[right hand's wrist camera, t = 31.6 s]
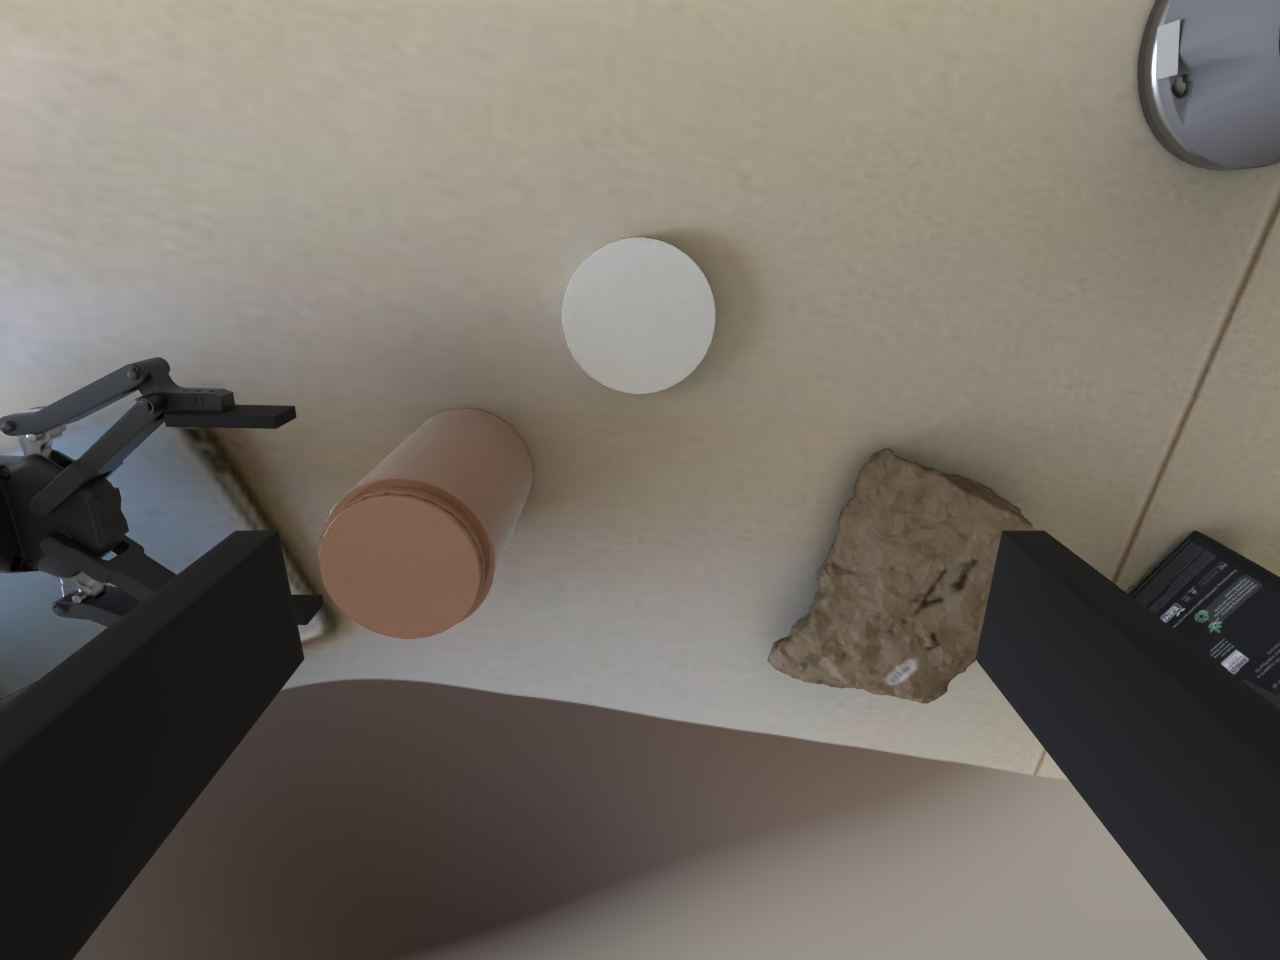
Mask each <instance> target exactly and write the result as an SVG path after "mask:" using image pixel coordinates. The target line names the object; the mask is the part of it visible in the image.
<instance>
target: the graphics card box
mask: <svg viewBox="0 0 1280 960" xmlns="http://www.w3.org/2000/svg"><path fill="white" fill-rule="evenodd" d="M1129 595H1130V596H1131V597H1132V598H1134V599H1135V600H1136V601H1138V602H1139V603H1140V604H1142V605H1143V606H1144V607H1145V608H1147V609H1148V610H1149V611H1151V612H1152V613H1153V614H1155V615H1156V616H1157V617H1159V618H1160V619H1161V620H1163V621H1164V622H1165V623H1167V624H1168V625H1169V626H1171V627H1172V628H1173V629H1174V630H1176V631H1177V632H1178V633H1180V634H1181V635H1182V636H1184V637H1185V638H1186V639H1188V640H1189V641H1190V642H1192V643H1193V644H1194V645H1196V646H1197V647H1198V648H1199V649H1201V650H1202V651H1203V652H1205V653H1206V654H1207V655H1209V656H1210V657H1211V658H1213V659H1214V660H1215V661H1217V662H1218V663H1219V664H1221V665H1222V666H1223V667H1224V668H1226V669H1227V670H1228V671H1230V672H1231V673H1232V674H1234V675H1235V676H1236V677H1238V678H1239V679H1246V680H1248V681H1250V682H1252V683H1254V684H1255V685H1257V686H1259V687H1261V688H1263V689H1265V690H1267V691H1269V692H1271V693H1273V694H1275V695H1277V696H1279V697H1280V577H1278V576H1277V575H1275V574H1273V573H1271V572H1270V571H1268V570H1266V569H1264V568H1263V567H1261V566H1260V565H1258V564H1256V563H1254V562H1252V561H1251V560H1249V559H1247V558H1245V557H1244V556H1242V555H1240V554H1238V553H1236V552H1235V551H1233V550H1231V549H1229V548H1227V547H1225V546H1224V545H1222V544H1220V543H1219V542H1217V541H1215V540H1213V539H1212V538H1209V537H1208V536H1206V535H1204V534H1202V533H1200V532H1198V531H1193V532H1192V533H1191V534H1190V535H1189V536H1188V537H1187V538H1186V539H1185V540H1184V541H1183V542H1182V543H1181V544H1180V545H1179V546H1178V547H1177V548H1176V549H1175V550H1174V551H1173V552H1172V553H1171V554H1170V555H1168V556H1167V558H1166V559H1165V560H1164V561H1163V562H1162V563H1161V564H1160V565H1159V566H1157V568H1156V569H1154V570H1153V571H1152V572H1151V573H1150V574H1149V575H1148V576H1147V577H1146V578H1145V579H1144V580H1143V581H1142V582H1141V583H1140V584H1139V585H1138V586H1137V587H1136V588H1135V589H1134V590H1133V591H1132V592H1131V593H1130V594H1129Z"/></svg>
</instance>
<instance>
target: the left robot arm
mask: <svg viewBox="0 0 1280 960" xmlns="http://www.w3.org/2000/svg"><path fill="white" fill-rule="evenodd" d="M169 371H170V366H169V364H168V362H167V361H166V360H164V359H163V358H159V357H156V358H152V359H147V360H144V361H140V362H136V363H133V364H129V365H126V366H124V367H122V368H120V369H118V370H116V371H115V372H113V373H111V374H109V375H107V376H105V377H103V378H101V379H99V380H97V381H95V382H93V383H91V384H89V385H88V386H86V387H84V388H82V389H80V390H78V391H76V392H74V393H72V394H70V395H68V396H66V397H64V398H63V399H61V400H59V401H57V402H55V403H53V404H51V405H49V406H43V407H36V408H32V409H29V410H25V411H22V412H18V413H15V414H12V415H8V416H5V417H2V418H0V430H1V431H2V432H3V433H5V434H7V435H10V436H16V435H17V437H18V440H19V442H20V444H21V447H22V449H23V452H24V454H25V456H0V573H20V572H30V571H43V572H47V573H49V574H52V575H54V576H56V577H59V579H60V585H61V592H62V598H60V599H59V600H57V601H56V602H54V603H53V605H52V609H53V611H54V613H55V614H57V615H58V616H61V617H68V618H78V619H88V620H92V621H94V622H97V623H99V624H102V625H105V626H107V627H109V626H111V625H112V624H113V623H115V622H116V621H117V620H119V619H120V618H121V617H123V616H124V615H125V614H127V613H128V612H129V611H131V610H132V609H133V608H135V607H136V606H137V605H138V604H140V603H141V602H142V601H144V600H145V599H146V598H148V597H149V596H150V595H152V594H153V593H154V592H156V591H157V590H158V589H160V588H161V587H162V586H163V585H165V584H166V583H167V582H169V581H170V580H171V579H173V578H174V577H175V576H177V575H176V574H174V573H173V572H171V571H170V570H168V569H167V568H165V567H164V566H162V565H160V564H159V563H157V562H156V561H154V560H153V559H151V558H150V557H148V556H146V555H145V554H144V549H143V547H142V546H141V545H139V544H138V543H136V542H134V541H133V540H131V539H130V538H128V537H127V536H125V533H127V532H128V531H129V529H128V525H127V521H126V519H125V517H124V515H123V513H122V512H121V496H120V492H119V488H114V487H113V486H112V484H111V483H110V482H109V481H108V480H107V479H106V478H108V477H109V476H110V475H111V474H112V473H113V472H114V471H115V470H116V469H117V468H118V467H119V466H120V465H121V464H122V463H123V460H124V459H125V458H126V457H127V456H128V455H129V454H130V453H131V452H132V451H133V450H135V449H136V448H137V447H138V446H139V445H140V444H141V443H142V442H143V441H144V440H145V439H146V438H147V437H148V436H149V435H150V434H151V433H153V432H154V431H155V430H156V429H157V428H158V427H159V426H160V425H161V424H162V423H163V422H164V421H165V424H166V427H219V428H271V429H277V428H278V427H280V426H282V425H284V424H286V423H287V422H289V421H291V420H293V419H295V418H296V411H295V406H268V405H235V402H234V396H233V392H231V391H228V390H226V389H206V388H182V387H179V386H178V385H176V384H175V383H174V382H173V381H172V379H171V377H170V376H169V374H168V373H169ZM137 390H139V391H140V393H141V394H142V396H141V397H138V398H137V399H135V400H136V401H138V400H139V401H138V402H137V403H136V404H135V405H134V406H133V407H132V408H131V409H130V410H129V411H128V412H127V413H126V414H125V415H124V416H123V417H122V418H121V419H120V420H118V421H117V422H116V423H115V424H114V425H113V426H112V427H111V428H110V429H109V430H108V431H107V432H106V433H105V434H104V435H103V436H102V437H101V438H100V439H99V440H98V441H97V442H96V443H95V444H94V445H92V446H91V447H90V448H89V449H88V450H87V451H86V452H85V453H84V454H83V455H82V456H81V457H80V458H79V459H78V460H76V461H75V460H73V459H71V458H70V457H68V456H66V455H65V454H63V453H61V452H59V451H56V450H52V447H51V445H52V442H53V441H54V440H56V439H59V438H60V437H61V436H62V432H64V431H65V430H66V427H65V425H66V424H69V423H72V422H75V421H78V420H80V419H82V418H84V417H86V416H88V415H90V414H92V413H94V412H96V411H98V410H100V409H102V408H104V407H106V406H108V405H110V404H112V403H114V402H116V401H117V400H119V399H121V398H123V397H125V396H127V395H129V394H131V393H133V392H135V391H137ZM111 551H113V552H114V553H116V554H117V555H118V556H116V557H114V558H113V559H111V560H109V561H106V560H103V559H101V558H103V557H104V556H105V555H107V554H108V553H109V552H111ZM87 575H88V576H89V577H91V578H93V579H94V580H92V579H90V578H89V577H88V576H87ZM95 580H96V581H95ZM106 583H112V584H114V585H115V586H117V587H118V588H116V587H112V586H106ZM291 596H292V601H293V606H294V611H295V616H296V621H297V625H307V624H308V623H309V622H310V620H311V619H312V618H313V617H314V616H315V614H316V613H317V612H318V611H319V609H320V608H321V607H322V606H323V598H322V595H291Z"/></svg>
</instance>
